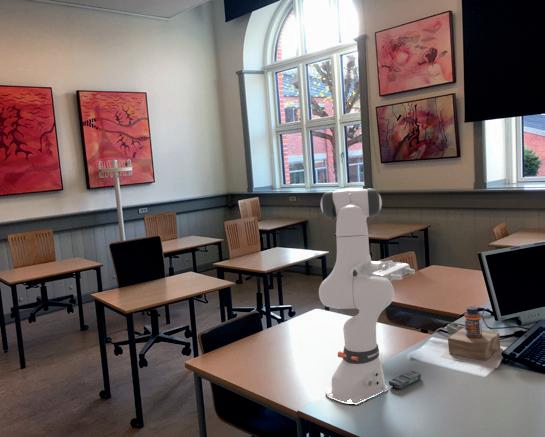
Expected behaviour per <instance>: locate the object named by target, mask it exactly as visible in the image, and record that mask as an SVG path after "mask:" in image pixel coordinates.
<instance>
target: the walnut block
mask: <svg viewBox="0 0 545 437" xmlns="http://www.w3.org/2000/svg"><path fill="white" fill-rule="evenodd" d="M500 338H501V337H500V332H495V331H490V330H485V329H482V336H481V337H479V338H470V337H467V336H466V333H465V326H463V327H462V328H460V329H459V330H457V331H456V332H455V333H453V334H452V335H450V336H449V337H448V338H447V343H448V344H447V345H448V346H447V347H448V353H449V352H450V353H449V354H452V353H455V354H454V355H456V354H459V355H458V356H461V355H463V356H462V357H466V356H467V357H466V358H471V359H476V360H480V361H484V362H485V361H487V360H488V358H490V357H491V356H493V355H494V354H495V353H496V352H497V351H499V350H500V349H501V341H500ZM496 350H497V351H496ZM495 351H496V352H495ZM494 352H495V353H494ZM493 353H494V354H493Z"/></svg>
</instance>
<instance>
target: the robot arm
mask: <svg viewBox="0 0 545 437" xmlns="http://www.w3.org/2000/svg"><path fill="white" fill-rule="evenodd" d="M382 201H383V199H382V197H381V195H380V193H379V191H378V190H377V189H375V188H356V187H355V188H354V187H347V188H342V189H337V190H332V189H331V190H328V191H325V192H324V193H323V194H322V196H321V199H320V209H321V213H322V214H323V216H324V217H326V218H327V219H329V220H331V222H334V221H335V219H336V225H335V228H336V229H335V230H336V231H335V233H336V234H335V235H336V236H335V237H336V259H335V260H336V261H335V263H334V266H333V269H332V271H331V272H330V274H329V275H328V276H327V277H326V278H325V279H324V280H322V282H321V283H320V285H319V288H318V296H319V300H320V302H321V303H322V305H323V306H324V307H327V308H332V309H338V310H339V309H340V310H342V309H346V310H347V309H357V310H358V313H357V314H356V315H354V316H351V317H350V318H349V319H347V320H346V322H344V324H343V329H342V330H343V339H344V346H343V352H342V351H340V350H339V351H338V352H337V358H341V359H342V360H341V362H340V363H339V365H338V367H337V369H336V370H335V372H334V373H333V375H332V377H331V386H330V387H329V388H328V389H327V390H326V391H325V395H326V394H327V395H328V396H330V397H332V398H335V399H337V400H340V401H344V402H347V400H349V399H351V400H352V402H353V403H358V402H360V401H362V400H364V399H367V398H369V397H371V396H373V395H376V394H378V393H380V392H382V391H385V390H387V389H388V390H389V388H388V385H387V384H386V380H385V375H384V370H383V366H382V364H381V361H380V359H379V356H380V348H379V344H378V343H377V324H378V323H377V322H378V319H379V317H380V315H381V313H382V312H383V311H384V310H385V309H386V308H387V307H388V306H390V304H391V303H392V302H393V300H394V297H395V288H394V285H393V284H392V282H391V281H398V280H399V281H402V280H403V279H404V276H406V275H408V274H409V275H414V274H416V270H415V269H413V268H411V266H410V265H411V264H408V263H405V262H398V261H395V262H394V261H393V260H384V261H380V260H379V261H377V260H376V261H375V260H372V256H371V253H370V243H369V242H370V241H369V229H368V223H367V218H368V217H369V218H372V217H376V216H378V215H379V214H380V213H381V210H382V205H383V202H382ZM330 394H333V395H330ZM360 399H361V400H360Z"/></svg>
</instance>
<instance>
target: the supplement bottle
mask: <svg viewBox="0 0 545 437" xmlns="http://www.w3.org/2000/svg"><path fill="white" fill-rule="evenodd" d="M464 327H465V333H466V336H467V337H470V338H479V337H481V336H482V330H483V329H482V314H481V313H480V312H479V308H478V307H477V306H473V305H469V306H466V312H465V313H464Z"/></svg>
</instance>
